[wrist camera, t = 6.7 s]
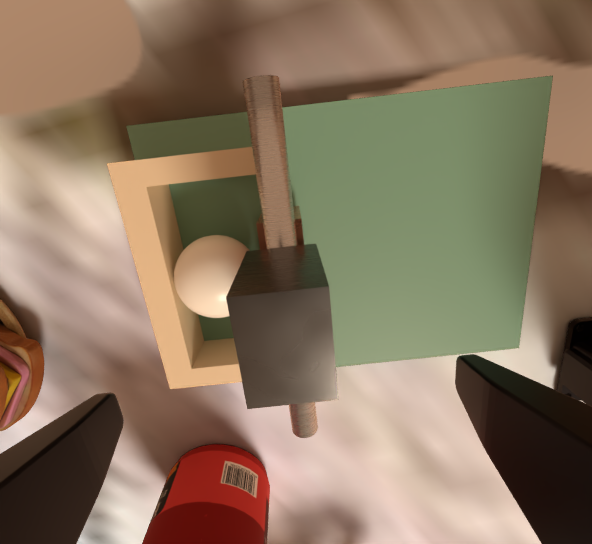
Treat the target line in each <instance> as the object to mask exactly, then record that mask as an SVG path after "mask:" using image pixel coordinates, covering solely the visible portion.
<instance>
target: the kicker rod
mask: <svg viewBox="0 0 592 544" xmlns="http://www.w3.org/2000/svg"><path fill="white" fill-rule="evenodd" d="M243 87H244V94H245V101H246V108H247V115H248V122H249V129H250V136H251V143H252V150H253V157H254V164H255V171H256V178H257V185H258V192H259V199H260V206H261V215H260V217H259V219H258V221H257V223H256V226H257V232H258V239H259V246H260V250H252V251H246V253H245V256H244V258H243V260H242V262H241V265H240V267H239V269H238V272H237V274H236V276H235V278H234V281H233V283H232V285H231V287H230V290H229V292H228V294H227V296H226V300H227V306H228V311H229V316H230V321H231V326H232V331H233V337H234V342H235V347H236V352H237V357H238V363H239V368H240V373H241V378H242V383H243V388H244V394H245V399H246V404H247V409H252V408H262V407H271V406H281V405H289V410H290V417H291V424H292V431H293V433H294V434H295V435H296V436H298V437H300V438H307V437H311V436H312V435H314V434H315V433H316V431H317V429H318V425H317V416H316V407H315V402H320V401H330V400H338V388H337V376H336V363H335V351H334V339H333V327H332V315H331V303H330V291H329V284H328V281H327V278H326V274H325V271H324V268H323V264H322V261H321V258H320V255H319V251H318V248H317V245H316V243H315V244H306V245H304V238H303V228H302V219H301V213H300V208H299V206H293V199H292V190H291V181H290V172H289V163H288V154H287V145H286V136H285V127H284V118H283V109H282V100H281V91H280V82H279V77H278V76H272V75H265V76H256V77H251V78H247V79H245V80H243Z"/></svg>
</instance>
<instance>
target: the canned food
mask: <svg viewBox="0 0 592 544" xmlns="http://www.w3.org/2000/svg"><path fill="white" fill-rule="evenodd" d="M269 494H270V485H269V481H268V477H267V474H266V470H265V468H264V466H263V465H262V463H261V462H260V461H259V460H258V459H257V458H256V457H255V456H253V455H252V454H251V453H249V452H247V451H245V450H243V449H241V448H238V447H234V446H230V445H223V444H213V445H205V446H201V447H198V448H195V449H193V450H191V451H189V452H187V453H186V454H185V455H183V456H182V457H181V458H180V459H179V461H178V462H177V463H176V464H175V466H174V467H173V468H172V469H171V471H170V473H169V475H168V477H167V480H166V483H165V485H164V488H163V490H162V493H161V496H160V498H159V501H158V503H157V506H156V509H155V511H154V514H153V517H152V519H151V522H150V524H149V527H148V530H147V532H146V535H145V537H144V540H143V543H142V544H267V532H268V513H269Z"/></svg>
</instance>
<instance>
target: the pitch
mask: <svg viewBox="0 0 592 544" xmlns="http://www.w3.org/2000/svg"><path fill="white" fill-rule="evenodd" d="M552 78H553V76H545V77H537V78H528V79H521V80H512V81H503V82H495V83H486V84H478V85H469V86H461V87H452V88H444V89H436V90H427V91H418V92H410V93H401V94H393V95H384V96H376V97H367V98H359V99H350V100H342V101H333V102H325V103H316V104H308V105H299V106H291V107H282V109H283V118H284V127H285V136H286V145H287V154H288V163H289V172H290V181H291V190H292V199H293V206H299V208H300V213H301V219H302V228H303V238H304V245H306V244H315V243H316V245H317V248H318V251H319V255H320V258H321V261H322V264H323V268H324V271H325V274H326V278H327V281H328V284H329V291H330V303H331V315H332V327H333V339H334V351H335V363H336V367H341V366H351V365H361V364H370V363H380V362H389V361H399V360H409V359H418V358H428V357H438V356H447V355H457V354H466V353H476V352H486V351H495V350H505V349H514V348H519V343H520V335H521V327H522V319H523V311H524V303H525V295H526V287H527V279H528V271H529V263H530V255H531V247H532V239H533V231H534V223H535V215H536V207H537V199H538V191H539V183H540V175H541V167H542V159H543V151H544V143H545V135H546V127H547V119H548V111H549V103H550V95H551V87H552ZM126 127H127V131H128V135H129V139H130V143H131V147H132V151H133V155H134V159H135V160H133V161H125V162H116V163H107V166H108V169H109V173H110V177H111V180H112V184H113V187H114V191H115V194H116V198H117V202H118V205H119V209H120V212H121V216H122V219H123V223H124V227H125V230H126V234H127V237H128V241H129V245H130V248H131V252H132V255H133V259H134V262H135V266H136V270H137V273H138V277H139V280H140V284H141V287H142V291H143V295H144V298H145V302H146V305H147V309H148V312H149V316H150V320H151V323H152V327H153V330H154V334H155V337H156V341H157V345H158V348H159V352H160V355H161V359H162V363H163V366H164V370H165V373H166V377H167V380H168V384H169V388H170V389H178V388H187V387H197V386H207V385H216V384H226V383H235V382H242V378H241V373H240V368H239V363H238V357H237V352H236V347H235V342H234V337H233V331H232V326H231V321H230V316H228V317H223V318H211V317H205V316H202V315H199V314H197V313H195V312H193V311H192V310H191V309H189V308H188V307H187V306H186V305H185V304H184V303H183V302H182V300H181V299H180V297H179V295H178V293H177V291H176V288H175V283H174V269H175V266H176V262H177V260H178V258H179V256H180V254H181V253H182V252H183V250H184V249H185V248H186V247H187V246H188V245H190V244H191V243H192V242H194V241H195V240H197V239H199V238H202V237H205V236H210V235H223V236H228V237H231V238H234V239H236V240H238V241H239V242H241V243H242V244H244V245H245V246H246V247H247V248H248V249H249V250H250V251H252V250H260V246H259V239H258V232H257V226H256V223H257V221H258V219H259V217H260V215H261V206H260V199H259V192H258V185H257V178H256V171H255V164H254V157H253V150H252V143H251V136H250V129H249V122H248V115H247V112H240V113H232V114H223V115H215V116H206V117H198V118H189V119H181V120H172V121H164V122H155V123H147V124H138V125H130V126H126Z"/></svg>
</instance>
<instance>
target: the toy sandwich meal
mask: <svg viewBox="0 0 592 544" xmlns="http://www.w3.org/2000/svg"><path fill="white" fill-rule="evenodd" d="M43 375H44V356H43V351H42V348H41V345H40V344H39V343H38V342H37V341H36V340H33V339H26V336H25V334H24V331H23V329H22V327H21V325H20V323H19V322H18V320H17V318H16V317H15V315H14V314H13V313H12V311H11V310H10V309H9V307H8V306H7V305H6V304H5V303H4V302H3V301H2V300H1V299H0V431H3V430H6V429H7V428H9V427H10V426H12V425H13V424H15V423H16V422H17V421H19V420H20V419H22V418H23V417H24V416H25V415H26V414H27V413H28V412H29V411H30V409H31V408H32V406H33V405H34V403H35V401H36V399H37V397H38V395H39V392H40V389H41V385H42V381H43Z"/></svg>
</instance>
